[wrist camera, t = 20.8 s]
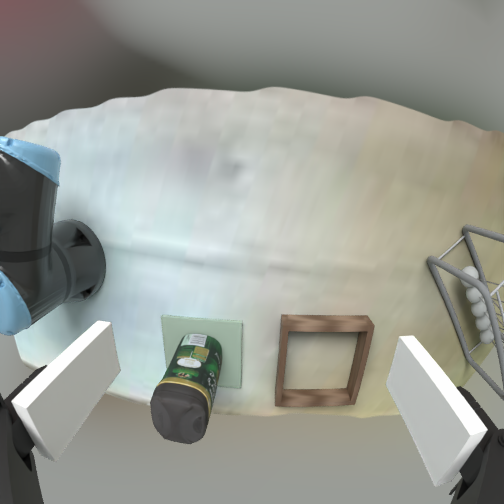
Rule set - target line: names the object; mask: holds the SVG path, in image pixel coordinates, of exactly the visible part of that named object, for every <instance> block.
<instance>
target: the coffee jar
mask: <svg viewBox="0 0 504 504" xmlns="http://www.w3.org/2000/svg"><path fill="white" fill-rule="evenodd" d="M221 366H222V347H221V345H220V343H219V342H218V341H217V340H216V339H215V338H213V337H211V336H208V335H204V334H187V335H185V336H184V337H183V338H182V339H181V341H180V343H179V345H178V347H177V349H176V351H175V353H174V356H173V358H172V360H171V362H170V364H169V366H168V368H167V371H166V373H165V375H164V377H163V379H162V380H161V381H160V382H159V383H158V385H157V386H156V388H155V390H154V393H153V396H152V399H151V402H150V404H151V414H152V420H153V424H154V426H155V428H156V430H157V431H158V432H159V433H160V435H162V436H163V438H164V439H168V440H171V441H174V442H179V443H186V444H192V443H194V442H197V441H198V440H200V439H201V438H203V436H204V434H205V432H206V428H207V425H208V421H209V417H210V414H211V410H212V406H213V402H214V398H215V393H216V389H217V384H218V380H219V376H220V371H221Z"/></svg>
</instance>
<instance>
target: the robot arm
mask: <svg viewBox="0 0 504 504" xmlns="http://www.w3.org/2000/svg"><path fill="white" fill-rule="evenodd" d="M60 164H61V160H60V156H59V154H58V153H57V152H56V151H55V150H53V149H50V148H47V147H44V146H41V145H37V144H33V143H29V142H25V141H21V140H16V139H15V140H14V139H11V138H7V137H2V136H0V333H1V334H4V335H15V334H17V333H18V332H20V331H22V330H24V329H28V328H29V327H30V326H31V325H32V324H34V323H35V322H37V321H38V320H39V319H41V318H42V317H43V316H45V315H46V314H48V313H49V312H50V311H52V310H53V309H55V308H56V307H58V306H59V305H60V304H62V303H68V302H78V301H83V300H85V299H87V298H89V297H90V296H92V295H93V294H94V293H96V292H97V291H98V289H99V288H100V287H101V285H102V283H103V280H104V276H105V257H104V252H103V249H102V246H101V244H100V242H99V240H98V238H97V237H96V235H95V234H94V232H93V231H92V230H91V229H90V228H89V227H88V226H86V225H85V224H83V223H82V222H79V221H76V220H64V221H60V222H57V223H55V224H53V222H54V212H55V204H56V196H57V188H58V186H59V181H58V180H59V172H60ZM120 371H121V370H120V366H119V361H118V356H117V351H116V346H115V341H114V335H113V330H112V324H111V322H104V321H97V322H96V323H95V324H93V325H92V326H91V327H90V328H89V329H88V330H87V331H85V332H84V333H83V334H82V335H81V336H80V337H79V338H78V339H77V340H75V341H74V342H73V343H72V344H71V345H70V346H69V347H68V348H67V349H66V350H64V351H63V352H62V353H61V354H60V355H59V356H58V357H57V358H56V359H55V360H54V361H53V362H51V363H50V364H49V365H48V366H47V365H45V366H43V367H41V368H39V369H37V370H35V371H34V372H33V373H32V374H31V375H30V376H29V378H27V379H26V380H25V381H24V382H23V383H22V384H20V385H19V386H18V387H17V388H16V389H15V390H14V391H13V392H12V393H11V394H10V395H9V396H8V397H7V398H6V399H5V400H3V398H2V396H1V394H0V504H44V502H43V498H42V494H41V490H40V486H39V481H38V476H37V471H36V466H35V460H34V455H33V453H32V451H31V449H32V448H33V447H34V446H36V448H37V449H38V451H39V453H40V454H41V455H42V456H44V457H46V458H48V459H50V460H52V461H54V462H57V460H58V459H59V457H60V456H61V454H62V453H63V451H64V450H65V448H66V447H67V446H68V444H69V443H70V441H71V439H72V438H73V437H74V435H75V433H76V432H77V431H78V430H79V428H80V427H81V425H82V423H83V422H84V421H85V420H86V418H87V417H88V415H89V414H90V412H91V411H92V410H93V408H94V407H95V405H96V404H97V403H98V401H99V400H100V398H101V397H102V396H103V394H104V393H105V392H106V390H107V389H108V387H109V386H110V385H111V383H112V382H113V381H114V379H115V378H116V376H117V375H118V374H119V372H120ZM386 386H387V388H388V390H389V392H390V394H391V396H392V398H393V400H394V402H395V404H396V406H397V408H398V410H399V412H400V414H401V416H402V418H403V420H404V422H405V424H406V426H407V428H408V430H409V432H410V434H411V436H412V438H413V440H414V442H415V445H416V447H417V449H418V451H419V453H420V455H421V457H422V460H423V462H424V464H425V466H426V468H427V471H428V473H429V475H430V477H431V479H432V482H433V484H434V486H439V485H442V484H445V483H448V482H450V481H452V480H453V479H454V477H455V476H456V475H457V473H458V472H460V473H461V475H462V478H461V479H460V481H459V482H458V483H457V484H456V485H455V487H454V488H453V489H452V490H451V492H450V493H449V495H451V494H452V493H453V492H454V491H455V490H456V491H455V494H454V496H453V499H452V502H451V504H504V429H499V430H498V428H497V427H496V426H495V424H494V423H493V422H492V421H491V419H490V418H489V416H488V415H487V414H486V413H485V411H484V410H483V409H482V408H480V405H479V404H478V402H476V400H475V399H474V397H473V396H472V395H471V394H470V392H468V391H467V390H465V389H464V388H462V387H461V386H459V387H455V386H454V384H453V383H452V382H451V381H450V379H449V378H448V377H447V376H446V374H445V373H444V372H443V371H442V369H441V368H440V367H439V366H438V364H437V363H436V362H435V361H434V360H433V358H432V357H431V356H430V355H429V354H428V352H427V351H426V350H425V349H424V348H423V346H422V345H421V344H420V343H419V342H418V340H417V339H416V338H415V337H414V336H399V340H398V344H397V348H396V351H395V355H394V359H393V362H392V366H391V369H390V372H389V376H388V379H387V382H386Z"/></svg>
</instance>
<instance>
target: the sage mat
mask: <svg viewBox="0 0 504 504" xmlns="http://www.w3.org/2000/svg"><path fill="white" fill-rule="evenodd" d="M161 323H162V333H163V342H164V351H165V359H166V367H167V368H168V366H169V364H170V362H171V360H172V358H173V356H174V353H175V351H176V349H177V347H178V345H179V343H180V341H181V339H182V338H183V337H184V336H185V335H187V334H204V335H208V336H211V337H213V338H215V339H216V340H217V341H218V342H219V343H220V345H221V347H222V366H221V371H220V376H219V380H218V384H217V386H220V387H232V388H241V354H242V321H236V320H220V319H206V318H193V317H181V316H171V315H162V316H161Z"/></svg>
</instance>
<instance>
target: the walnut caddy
mask: <svg viewBox="0 0 504 504" xmlns="http://www.w3.org/2000/svg"><path fill="white" fill-rule="evenodd" d="M289 331H302V332H358V331H359V335H358V340H357V345H356V350H355V355H354V359H353V364H352V368H351V373H350V377H349V381H348V385H347V388H344V389H307V390H295V389H283V382H284V373H285V363H286V353H287V343H288V332H289ZM373 331H374V324H373V323H372V321H371V320H370V318H369V317H368V316H324V315H282V316H281V329H280V342H279V354H278V365H277V376H276V387H275V406H281V407H311V406H339V405H355V402H356V399H357V395H358V392H359V388H360V385H361V381H362V377H363V373H364V370H365V366H366V362H367V357H368V353H369V349H370V345H371V340H372V335H373Z"/></svg>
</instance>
